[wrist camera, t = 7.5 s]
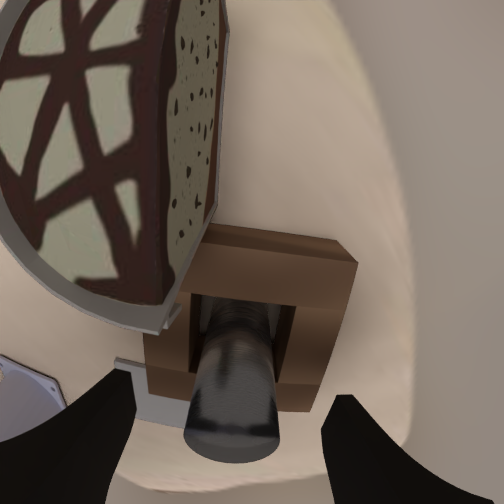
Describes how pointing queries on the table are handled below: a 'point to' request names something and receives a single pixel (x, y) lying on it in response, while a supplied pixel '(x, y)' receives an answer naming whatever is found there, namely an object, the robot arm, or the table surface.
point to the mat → (153, 399)
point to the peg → (235, 386)
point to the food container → (111, 148)
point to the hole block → (259, 290)
